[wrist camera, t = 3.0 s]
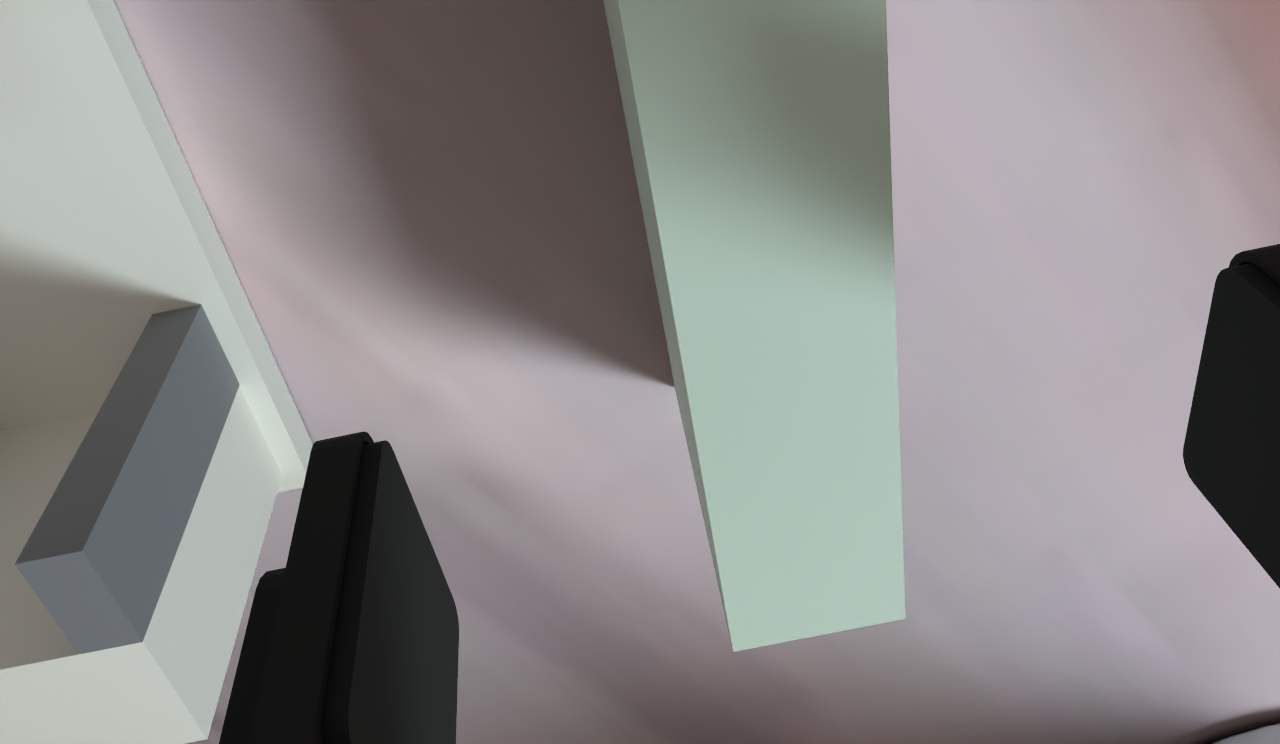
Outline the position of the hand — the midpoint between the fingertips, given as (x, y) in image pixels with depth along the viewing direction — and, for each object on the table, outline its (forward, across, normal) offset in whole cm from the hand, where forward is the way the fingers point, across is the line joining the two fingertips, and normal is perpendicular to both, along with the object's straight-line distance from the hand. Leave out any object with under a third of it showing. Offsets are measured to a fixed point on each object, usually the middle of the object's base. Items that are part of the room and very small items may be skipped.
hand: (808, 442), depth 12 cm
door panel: (+11, 0, +1) cm, 11 cm away
